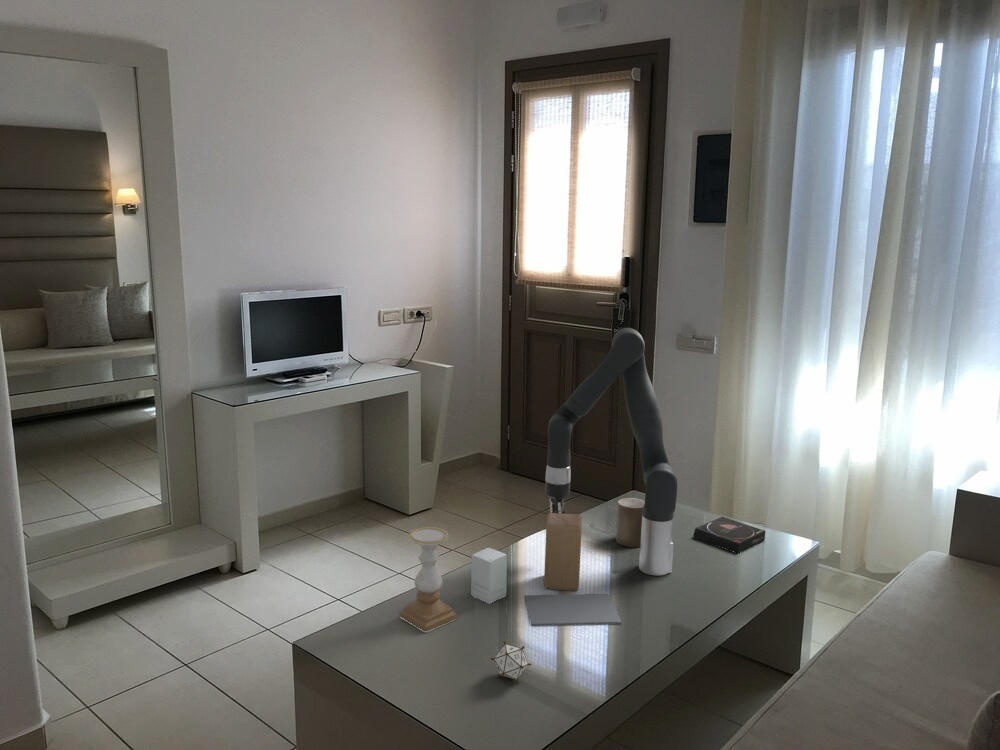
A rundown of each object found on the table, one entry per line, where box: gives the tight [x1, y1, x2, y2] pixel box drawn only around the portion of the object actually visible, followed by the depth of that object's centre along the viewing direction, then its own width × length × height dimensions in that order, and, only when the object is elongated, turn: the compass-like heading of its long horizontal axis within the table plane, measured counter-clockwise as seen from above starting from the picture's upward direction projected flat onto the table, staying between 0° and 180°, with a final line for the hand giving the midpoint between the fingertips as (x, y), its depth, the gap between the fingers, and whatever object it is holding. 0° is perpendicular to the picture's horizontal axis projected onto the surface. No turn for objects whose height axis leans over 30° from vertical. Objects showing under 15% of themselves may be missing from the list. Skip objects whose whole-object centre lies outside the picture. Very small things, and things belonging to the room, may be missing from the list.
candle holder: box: [399, 526, 457, 631], centre depth 210 cm, size 11×11×24 cm
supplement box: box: [470, 547, 508, 605], centre depth 224 cm, size 7×7×13 cm
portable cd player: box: [692, 516, 766, 554], centre depth 269 cm, size 16×17×4 cm
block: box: [543, 512, 583, 592], centre depth 232 cm, size 10×10×20 cm
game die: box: [490, 640, 532, 684], centre depth 186 cm, size 9×8×10 cm
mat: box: [523, 592, 623, 627], centre depth 219 cm, size 24×16×1 cm, turn 95°
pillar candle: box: [615, 497, 645, 548], centre depth 264 cm, size 10×10×15 cm
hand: (555, 533), depth 245 cm, fingers closed
